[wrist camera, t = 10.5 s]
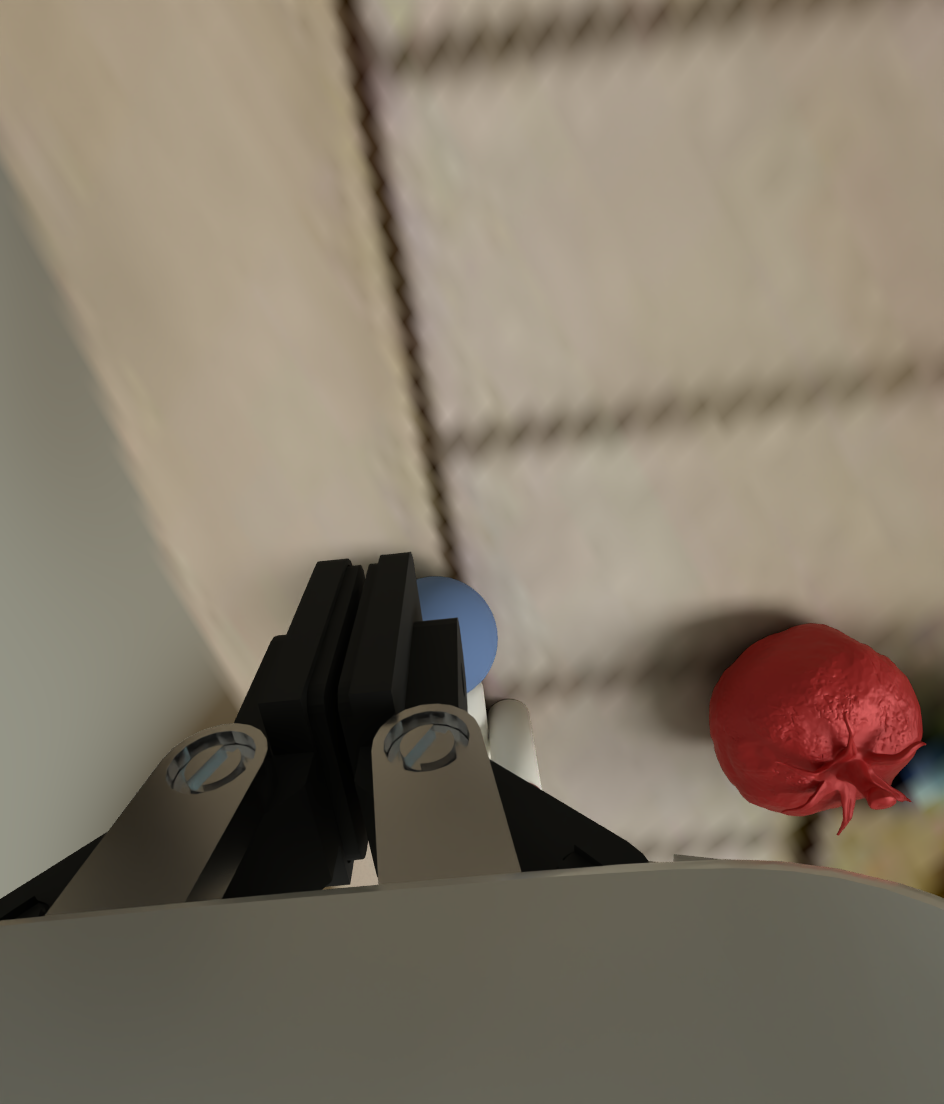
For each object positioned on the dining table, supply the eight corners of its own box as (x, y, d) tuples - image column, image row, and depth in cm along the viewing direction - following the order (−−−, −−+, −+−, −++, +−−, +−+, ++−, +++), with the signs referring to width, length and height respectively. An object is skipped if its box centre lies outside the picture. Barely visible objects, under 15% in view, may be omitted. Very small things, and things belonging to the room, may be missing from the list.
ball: (389, 685, 34) (386, 573, 34) (501, 685, 34) (498, 571, 34) (359, 717, 28) (356, 582, 28) (496, 718, 28) (493, 579, 28)
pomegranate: (658, 671, 36) (716, 799, 28) (821, 572, 34) (940, 679, 25) (744, 774, 39) (819, 916, 31) (899, 691, 37) (1026, 821, 28)
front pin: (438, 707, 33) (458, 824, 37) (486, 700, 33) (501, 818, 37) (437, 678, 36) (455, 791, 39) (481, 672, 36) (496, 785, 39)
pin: (484, 700, 36) (493, 822, 29) (528, 696, 36) (549, 817, 29) (488, 734, 37) (498, 861, 30) (531, 730, 37) (551, 856, 30)
